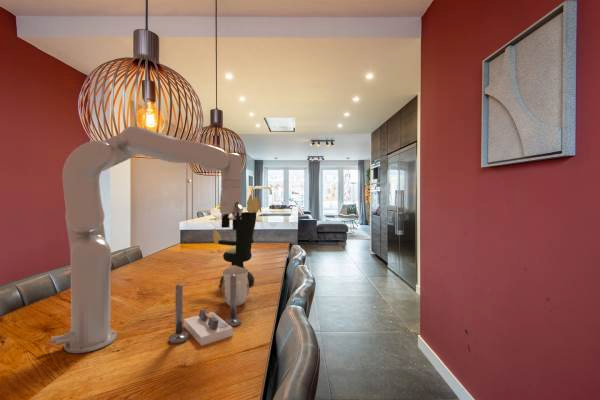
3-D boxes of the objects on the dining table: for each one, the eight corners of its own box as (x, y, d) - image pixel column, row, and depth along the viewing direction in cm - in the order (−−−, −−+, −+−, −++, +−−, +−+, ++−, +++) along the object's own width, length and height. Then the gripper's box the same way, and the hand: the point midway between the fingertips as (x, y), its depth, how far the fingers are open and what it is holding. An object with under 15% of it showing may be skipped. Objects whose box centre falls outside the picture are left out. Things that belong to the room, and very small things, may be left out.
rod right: (229, 328, 96) (229, 277, 96) (222, 322, 101) (222, 274, 100) (244, 324, 100) (244, 274, 100) (236, 318, 104) (236, 271, 104)
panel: (201, 345, 85) (201, 337, 85) (184, 326, 98) (184, 318, 98) (232, 335, 91) (232, 327, 91) (212, 318, 104) (212, 311, 104)
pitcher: (224, 314, 108) (224, 277, 108) (219, 298, 125) (219, 266, 124) (253, 310, 112) (254, 274, 112) (245, 295, 129) (245, 264, 128)
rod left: (171, 346, 85) (172, 288, 85) (166, 338, 89) (166, 283, 89) (191, 340, 88) (191, 284, 88) (185, 333, 93) (185, 280, 93)
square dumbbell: (212, 329, 89) (213, 321, 90) (198, 316, 99) (200, 309, 99) (217, 328, 90) (218, 320, 91) (203, 316, 100) (204, 309, 100)
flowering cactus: (243, 276, 158) (244, 193, 157) (269, 285, 142) (270, 194, 142) (211, 283, 145) (212, 193, 144) (236, 294, 129) (236, 193, 128)
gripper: (213, 185, 118) (213, 227, 119) (232, 184, 105) (231, 231, 105) (230, 185, 123) (230, 226, 123) (250, 184, 110) (250, 230, 110)
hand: (230, 228), depth 114 cm, fingers open, 9 cm apart
